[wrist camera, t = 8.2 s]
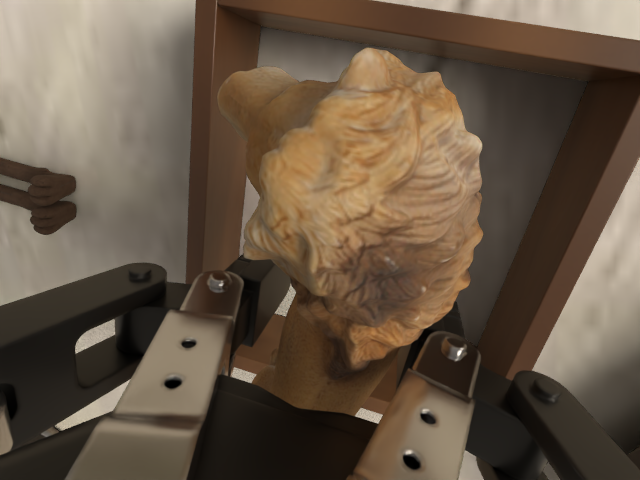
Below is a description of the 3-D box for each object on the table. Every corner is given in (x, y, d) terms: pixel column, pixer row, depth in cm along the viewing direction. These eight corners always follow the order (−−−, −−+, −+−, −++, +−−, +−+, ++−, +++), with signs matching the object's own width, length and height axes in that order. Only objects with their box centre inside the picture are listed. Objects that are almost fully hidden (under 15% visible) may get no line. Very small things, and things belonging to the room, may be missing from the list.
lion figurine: (314, 56, 12) (115, -25, 4) (482, 86, 11) (677, 67, 3) (264, 390, 18) (142, 643, 10) (372, 424, 17) (340, 727, 9)
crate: (219, 309, 25) (180, 350, 21) (243, -1, 18) (193, -31, 14) (477, 385, 22) (491, 449, 18) (622, 59, 15) (698, 44, 11)
